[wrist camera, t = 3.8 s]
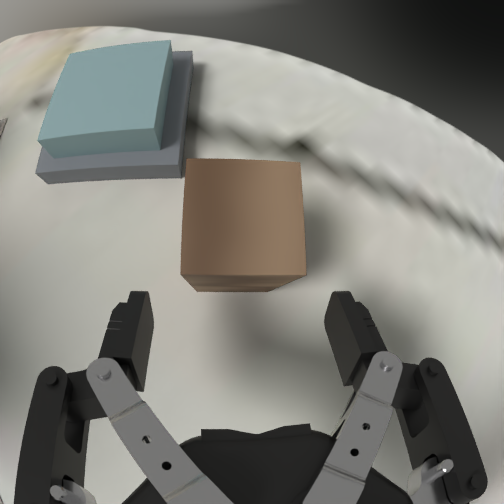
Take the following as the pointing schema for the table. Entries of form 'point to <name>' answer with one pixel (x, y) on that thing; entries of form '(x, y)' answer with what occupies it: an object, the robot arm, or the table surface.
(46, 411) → the robot arm
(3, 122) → the valve
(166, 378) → the table surface
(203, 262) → the walnut pillar
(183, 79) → the tower base slab
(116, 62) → the tower top slab
